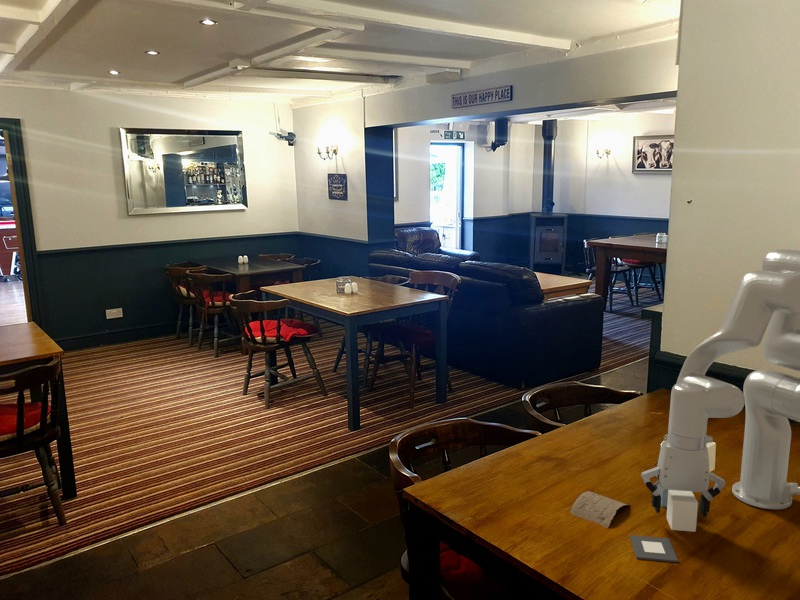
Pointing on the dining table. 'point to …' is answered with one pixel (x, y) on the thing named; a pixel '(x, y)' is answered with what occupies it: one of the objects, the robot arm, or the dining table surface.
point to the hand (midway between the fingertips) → (679, 512)
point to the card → (653, 548)
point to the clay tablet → (595, 508)
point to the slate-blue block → (664, 497)
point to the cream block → (682, 510)
